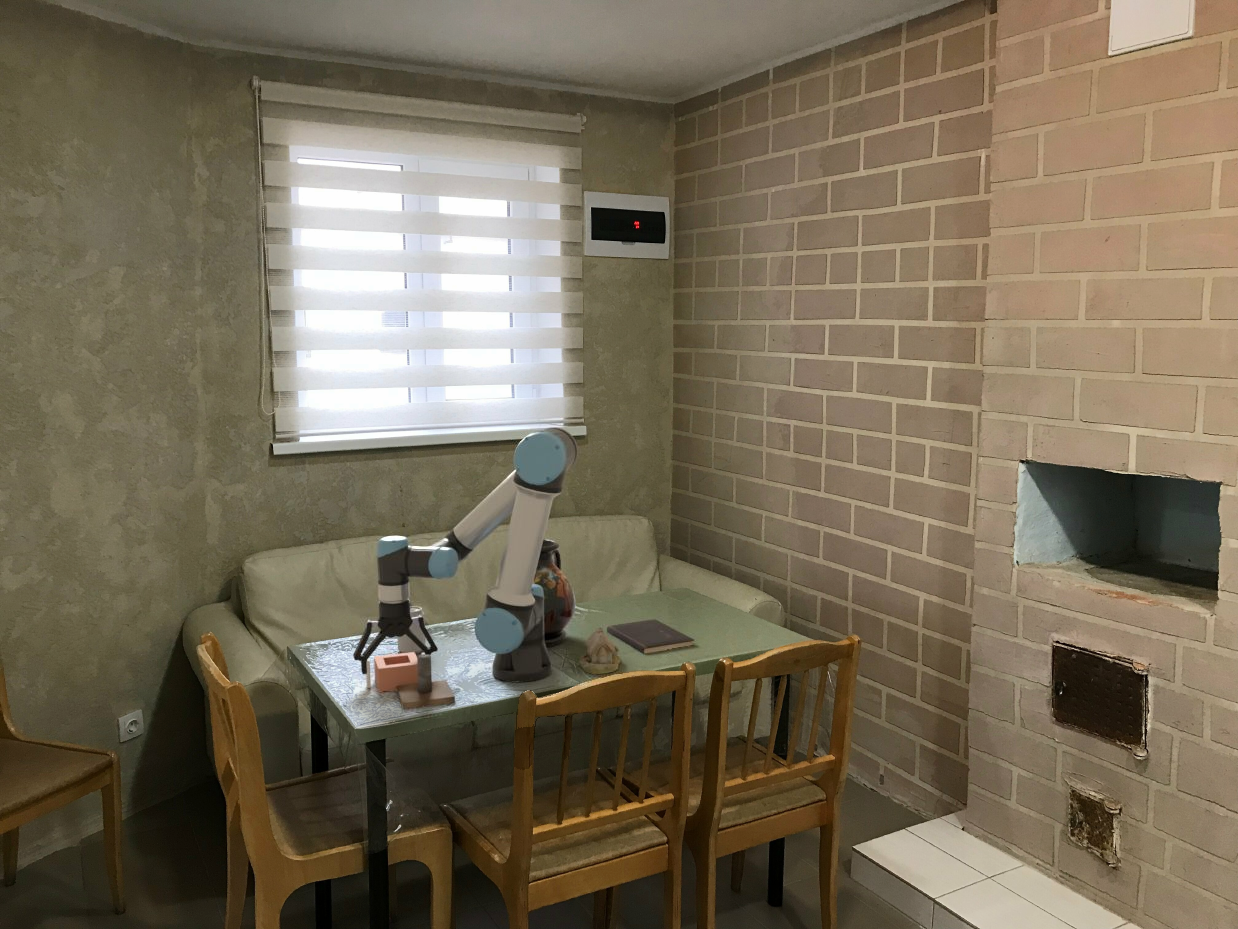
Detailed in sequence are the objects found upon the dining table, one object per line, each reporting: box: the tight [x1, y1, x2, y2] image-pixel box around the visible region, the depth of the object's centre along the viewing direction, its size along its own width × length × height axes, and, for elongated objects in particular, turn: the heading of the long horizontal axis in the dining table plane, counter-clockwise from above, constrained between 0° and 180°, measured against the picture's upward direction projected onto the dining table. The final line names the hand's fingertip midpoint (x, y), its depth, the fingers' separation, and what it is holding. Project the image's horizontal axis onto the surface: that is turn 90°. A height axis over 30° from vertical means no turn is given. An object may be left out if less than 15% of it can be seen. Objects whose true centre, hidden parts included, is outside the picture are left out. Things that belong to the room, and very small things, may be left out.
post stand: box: [396, 654, 456, 710], centre depth 231 cm, size 12×12×10 cm
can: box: [397, 605, 427, 654], centre depth 266 cm, size 8×8×12 cm
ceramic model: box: [578, 627, 622, 675], centre depth 253 cm, size 14×11×10 cm
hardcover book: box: [606, 618, 695, 655], centre depth 276 cm, size 16×23×2 cm
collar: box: [373, 652, 418, 693], centre depth 240 cm, size 10×10×6 cm
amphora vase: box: [533, 539, 576, 648], centre depth 274 cm, size 22×22×28 cm
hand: (396, 683), depth 241 cm, fingers open, 13 cm apart
